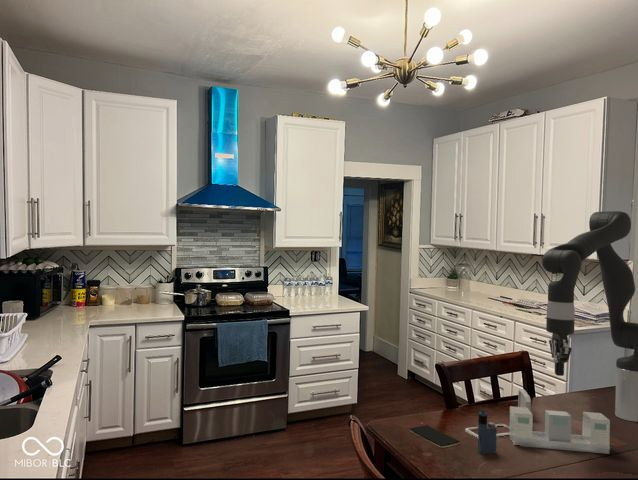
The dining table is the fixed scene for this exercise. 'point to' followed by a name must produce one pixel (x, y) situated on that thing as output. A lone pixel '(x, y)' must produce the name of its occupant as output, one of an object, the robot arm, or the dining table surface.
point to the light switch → (524, 399)
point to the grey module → (557, 426)
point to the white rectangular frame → (477, 427)
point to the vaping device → (486, 434)
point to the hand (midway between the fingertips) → (559, 374)
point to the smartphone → (434, 436)
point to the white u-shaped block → (590, 441)
